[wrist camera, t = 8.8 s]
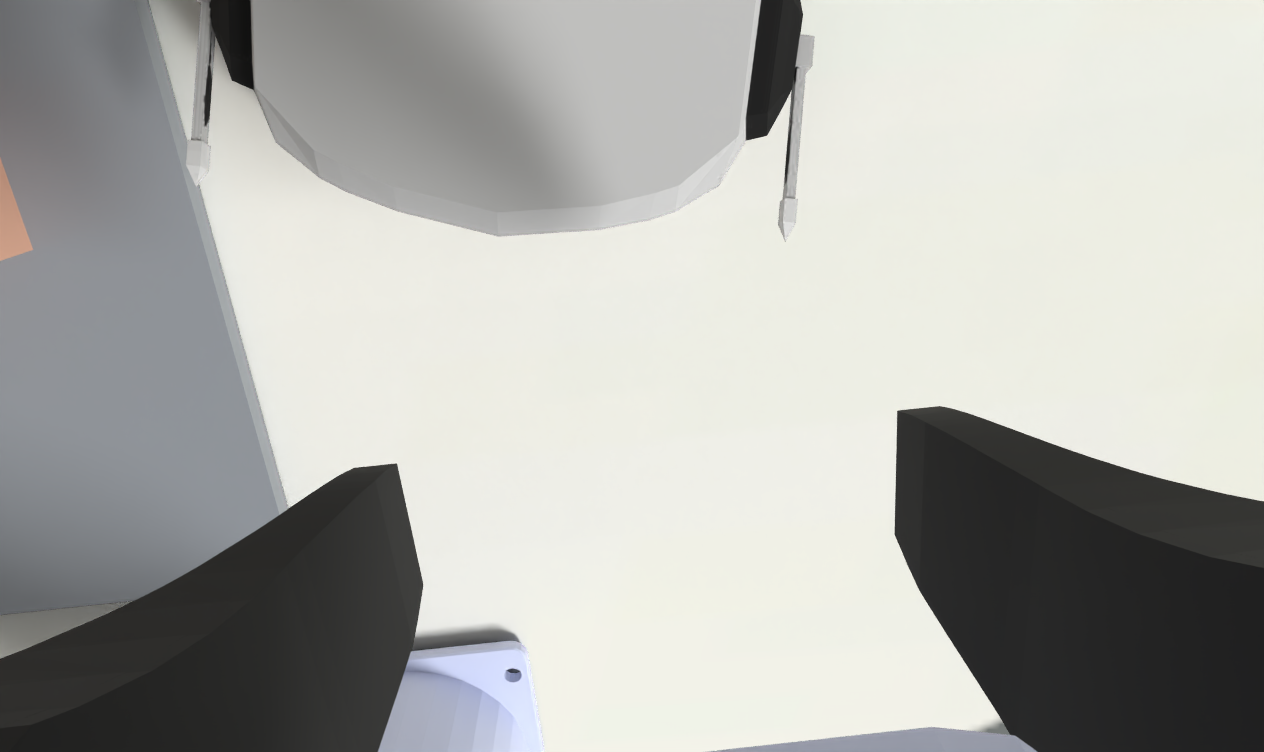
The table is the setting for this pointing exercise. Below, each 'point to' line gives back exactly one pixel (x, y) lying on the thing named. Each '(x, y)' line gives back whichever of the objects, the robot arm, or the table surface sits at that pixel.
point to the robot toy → (514, 101)
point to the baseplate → (113, 325)
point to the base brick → (11, 222)
